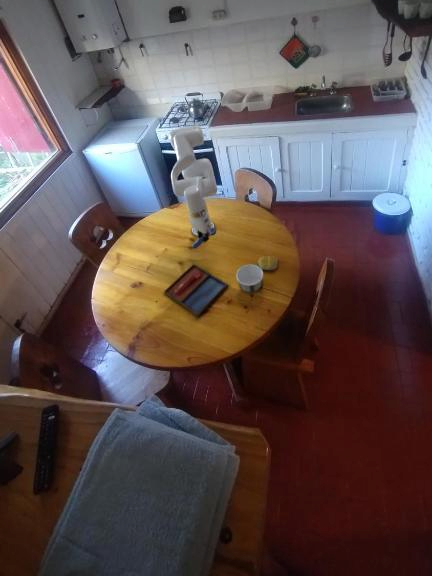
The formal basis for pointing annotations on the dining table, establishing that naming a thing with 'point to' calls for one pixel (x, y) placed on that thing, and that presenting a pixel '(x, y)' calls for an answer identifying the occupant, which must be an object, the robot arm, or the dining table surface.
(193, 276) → the red spoon
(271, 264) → the bread roll
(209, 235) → the blue spoon
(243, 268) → the food container
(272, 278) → the dining table surface
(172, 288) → the sorting tray
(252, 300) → the dining table surface
